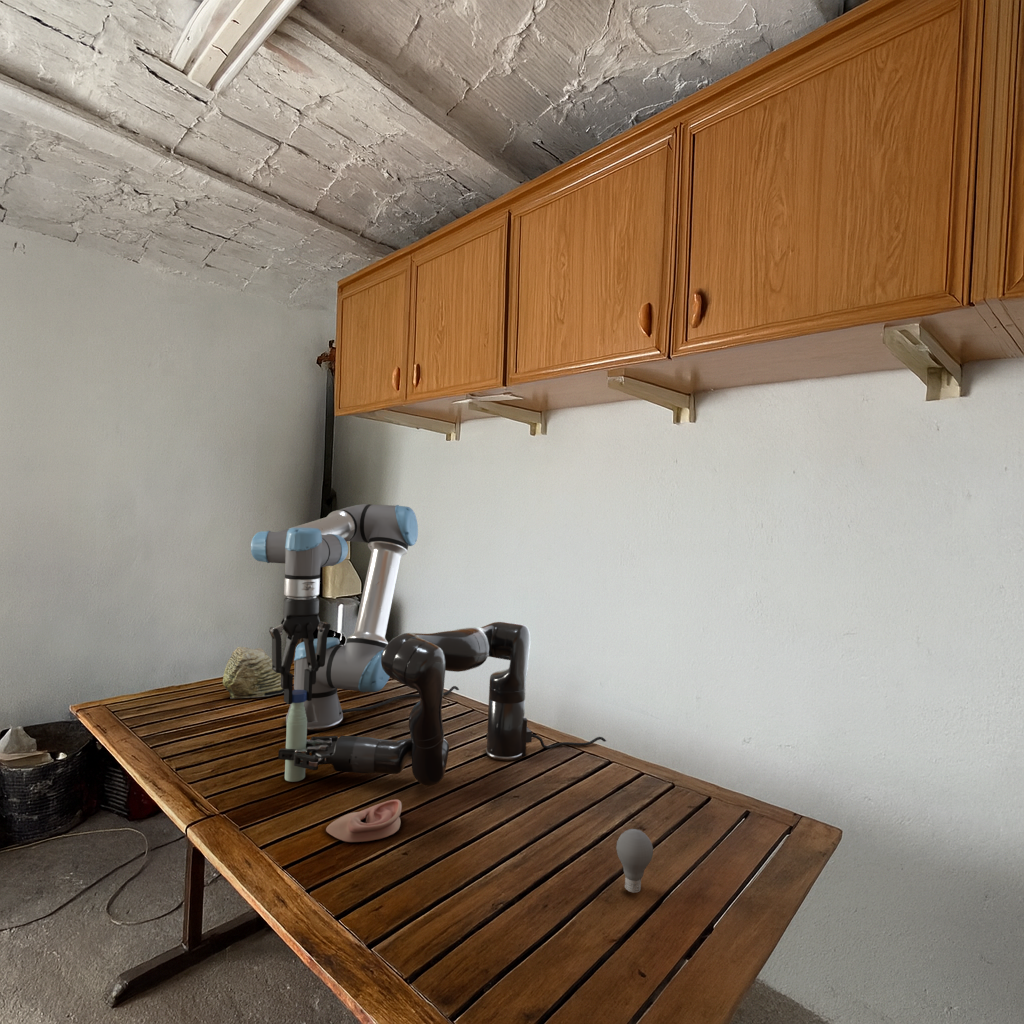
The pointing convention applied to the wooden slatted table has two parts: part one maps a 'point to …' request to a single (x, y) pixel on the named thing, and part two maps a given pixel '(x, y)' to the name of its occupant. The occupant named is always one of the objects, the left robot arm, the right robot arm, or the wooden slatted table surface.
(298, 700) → the cap
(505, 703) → the right robot arm
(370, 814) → the anatomical model
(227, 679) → the fossil
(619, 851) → the light bulb
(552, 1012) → the wooden slatted table surface
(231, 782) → the wooden slatted table surface
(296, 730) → the bottle
